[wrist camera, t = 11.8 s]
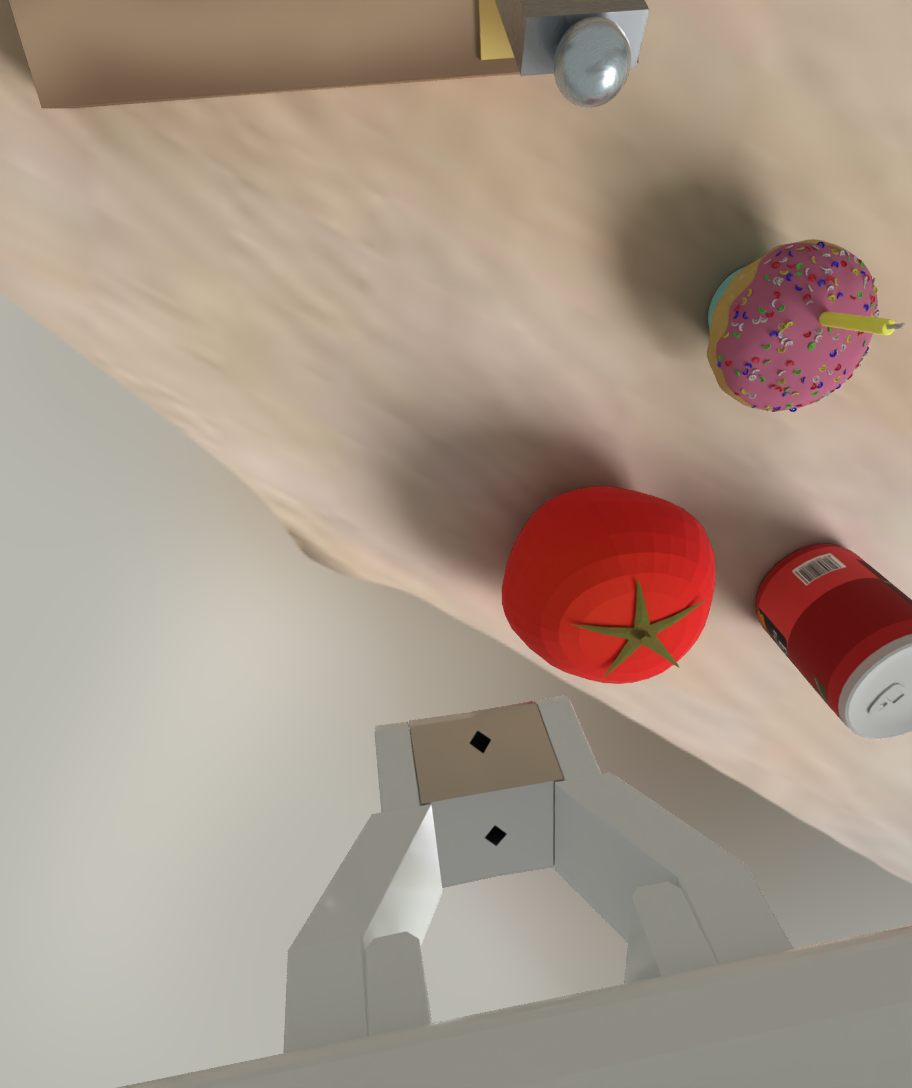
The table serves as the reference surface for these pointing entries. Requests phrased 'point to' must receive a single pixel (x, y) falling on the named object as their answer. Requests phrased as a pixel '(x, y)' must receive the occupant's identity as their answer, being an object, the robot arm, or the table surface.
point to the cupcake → (793, 325)
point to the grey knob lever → (576, 43)
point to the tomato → (609, 584)
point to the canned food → (844, 635)
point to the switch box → (250, 46)
